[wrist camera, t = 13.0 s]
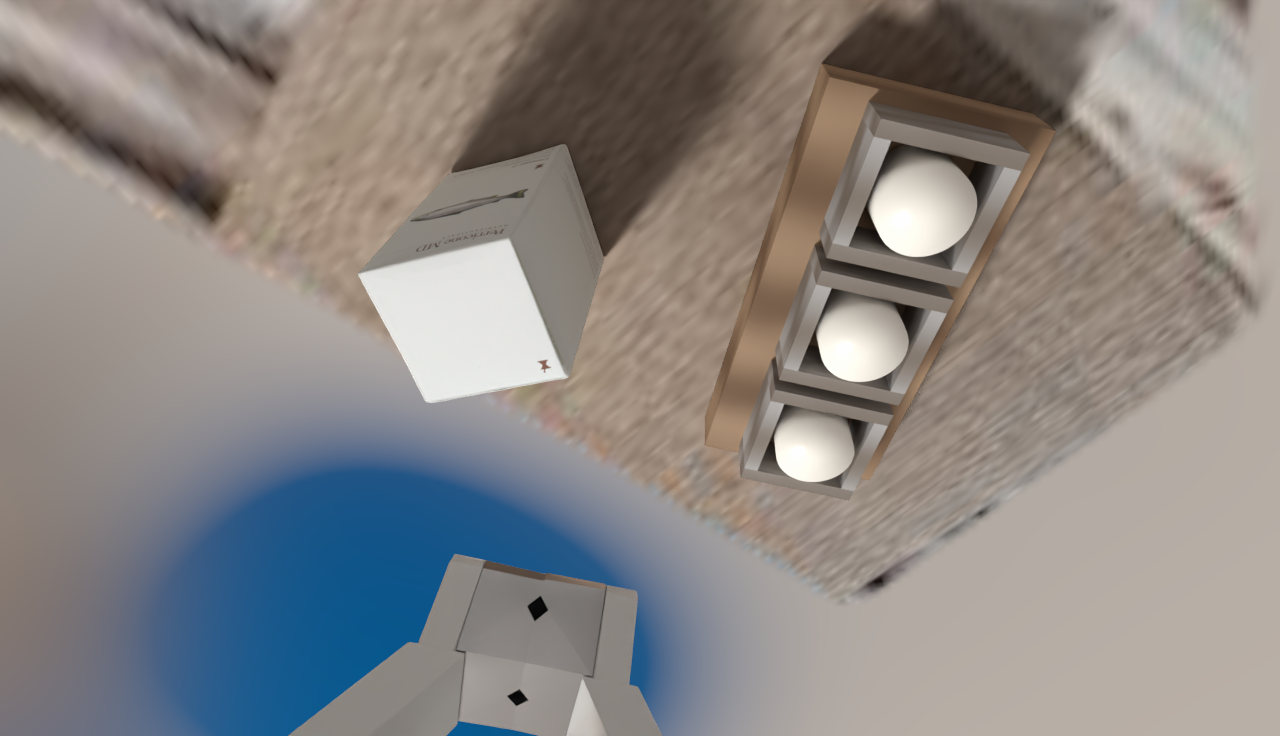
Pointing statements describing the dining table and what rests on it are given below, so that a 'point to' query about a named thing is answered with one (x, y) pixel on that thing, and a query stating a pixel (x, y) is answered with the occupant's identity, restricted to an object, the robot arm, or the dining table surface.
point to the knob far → (812, 444)
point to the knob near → (921, 201)
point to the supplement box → (490, 277)
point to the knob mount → (860, 264)
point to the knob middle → (860, 336)
